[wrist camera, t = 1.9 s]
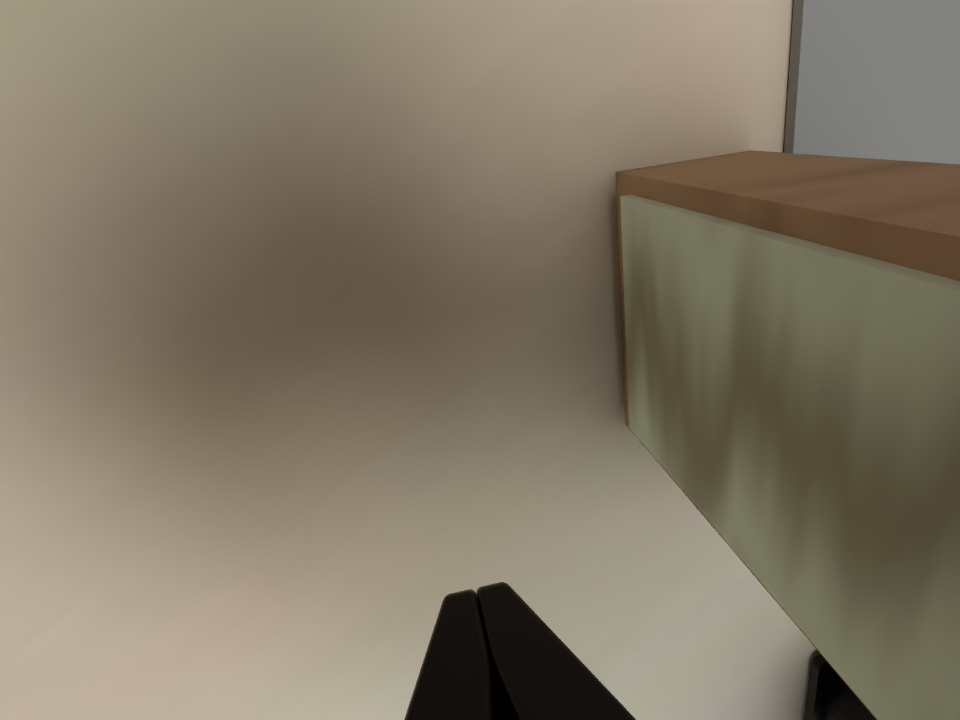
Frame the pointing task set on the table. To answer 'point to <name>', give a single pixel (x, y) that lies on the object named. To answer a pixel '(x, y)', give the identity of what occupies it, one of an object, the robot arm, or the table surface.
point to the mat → (875, 80)
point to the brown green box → (812, 393)
